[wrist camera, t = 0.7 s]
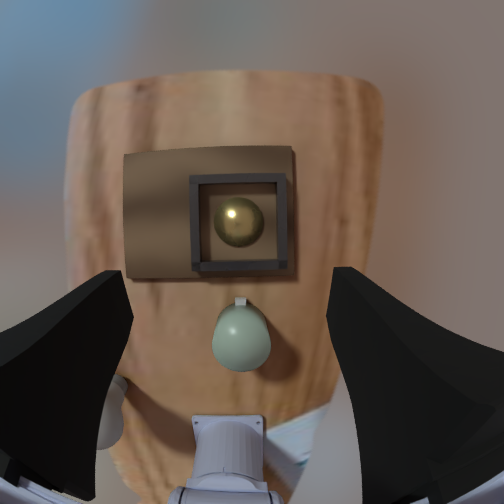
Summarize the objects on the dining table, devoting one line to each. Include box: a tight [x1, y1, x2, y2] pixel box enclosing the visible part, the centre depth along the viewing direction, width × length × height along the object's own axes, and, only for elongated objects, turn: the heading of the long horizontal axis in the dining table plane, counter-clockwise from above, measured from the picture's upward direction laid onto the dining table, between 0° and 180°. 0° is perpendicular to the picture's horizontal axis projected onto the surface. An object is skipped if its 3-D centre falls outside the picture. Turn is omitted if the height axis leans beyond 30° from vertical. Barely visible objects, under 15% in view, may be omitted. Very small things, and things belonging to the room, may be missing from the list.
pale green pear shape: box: [212, 297, 271, 372], centre depth 25 cm, size 6×5×5 cm
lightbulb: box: [97, 374, 128, 450], centre depth 23 cm, size 6×6×11 cm
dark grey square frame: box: [189, 173, 288, 271], centre depth 26 cm, size 8×8×1 cm
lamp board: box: [123, 146, 294, 278], centre depth 26 cm, size 12×16×1 cm
